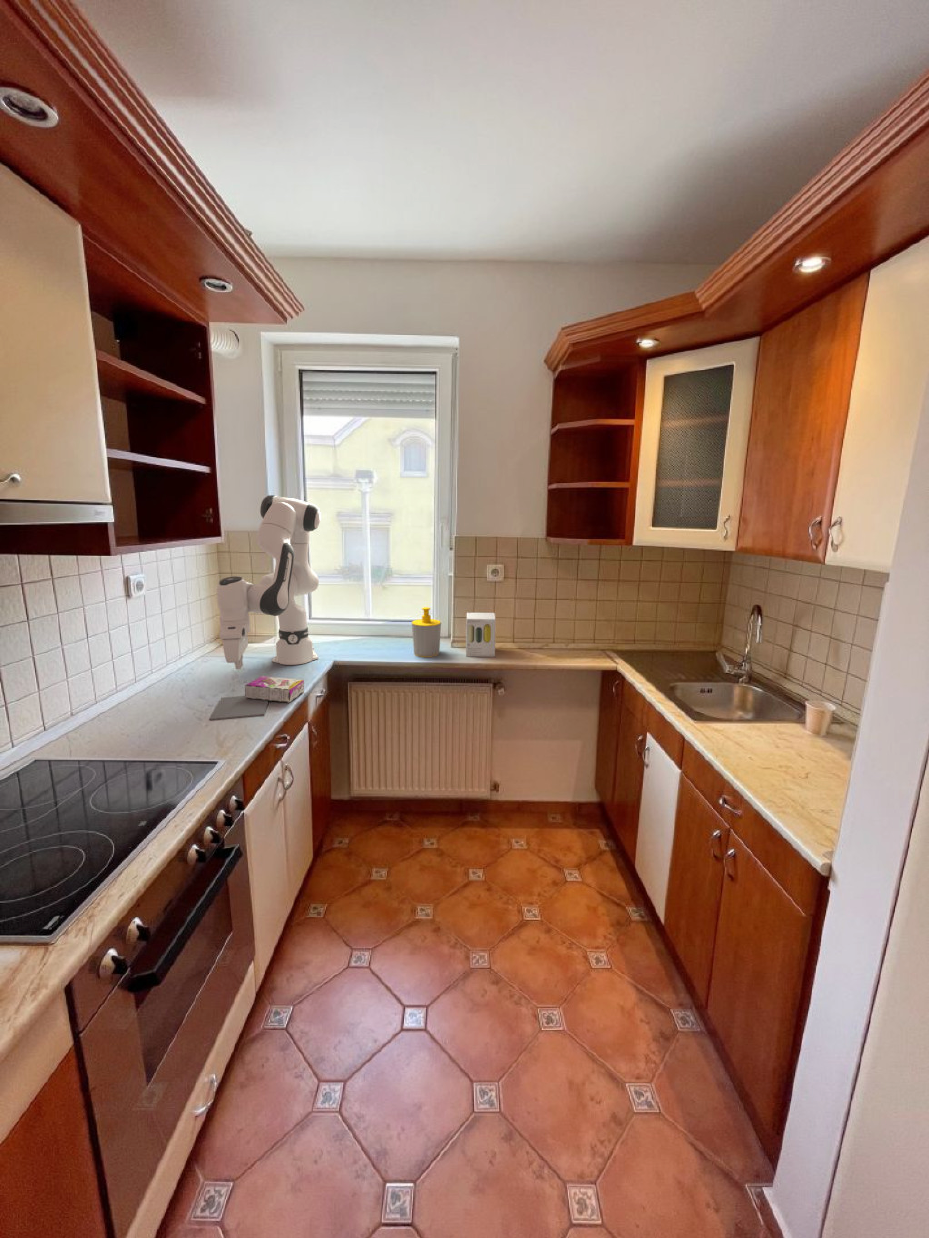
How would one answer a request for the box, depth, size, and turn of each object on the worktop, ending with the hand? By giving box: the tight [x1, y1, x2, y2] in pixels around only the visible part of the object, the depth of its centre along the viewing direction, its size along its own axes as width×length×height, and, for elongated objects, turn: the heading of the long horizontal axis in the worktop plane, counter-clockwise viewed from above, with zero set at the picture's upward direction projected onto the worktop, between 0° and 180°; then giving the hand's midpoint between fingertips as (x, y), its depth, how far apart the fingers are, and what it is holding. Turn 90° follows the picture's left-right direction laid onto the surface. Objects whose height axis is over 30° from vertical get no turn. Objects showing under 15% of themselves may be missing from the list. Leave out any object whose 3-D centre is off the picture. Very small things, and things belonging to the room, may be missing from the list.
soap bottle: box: [411, 606, 442, 658], centre depth 226 cm, size 13×13×21 cm
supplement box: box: [465, 612, 496, 658], centre depth 228 cm, size 13×13×18 cm
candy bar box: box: [244, 675, 305, 703], centre depth 176 cm, size 11×5×16 cm
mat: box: [209, 695, 270, 721], centre depth 167 cm, size 18×16×1 cm
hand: (239, 667), depth 166 cm, fingers closed
